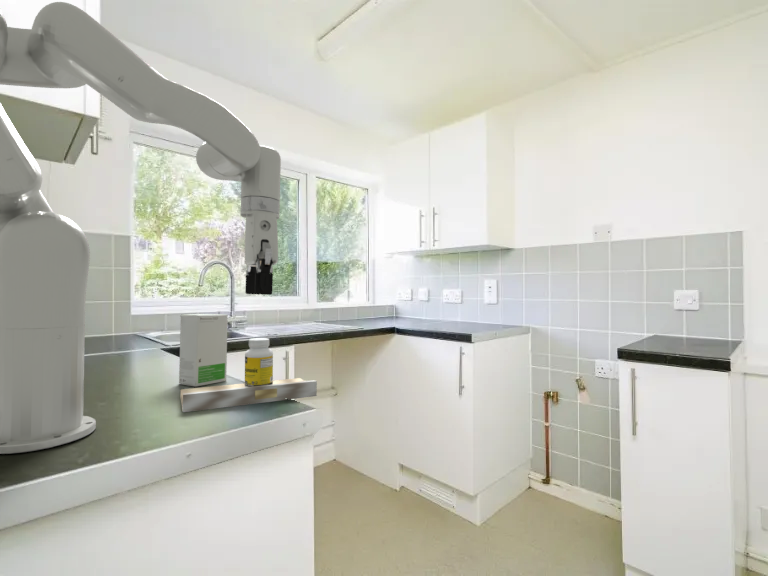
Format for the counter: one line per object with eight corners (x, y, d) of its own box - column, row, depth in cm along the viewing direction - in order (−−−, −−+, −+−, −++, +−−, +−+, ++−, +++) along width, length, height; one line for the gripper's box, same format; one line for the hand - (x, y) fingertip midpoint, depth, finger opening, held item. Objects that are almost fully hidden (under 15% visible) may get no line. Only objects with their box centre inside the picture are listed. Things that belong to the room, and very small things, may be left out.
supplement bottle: (239, 387, 80) (239, 339, 80) (262, 383, 84) (263, 336, 84) (254, 392, 76) (254, 341, 76) (278, 387, 80) (278, 338, 80)
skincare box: (195, 387, 85) (196, 315, 85) (176, 384, 89) (178, 314, 89) (228, 380, 93) (229, 313, 93) (209, 377, 96) (210, 312, 96)
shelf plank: (182, 412, 68) (183, 395, 68) (180, 397, 78) (180, 381, 78) (317, 396, 79) (317, 381, 79) (300, 384, 89) (300, 371, 89)
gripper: (290, 203, 75) (288, 295, 74) (269, 218, 90) (267, 294, 89) (249, 198, 71) (246, 294, 71) (234, 214, 86) (232, 293, 86)
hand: (258, 294), depth 80 cm, fingers open, 9 cm apart
